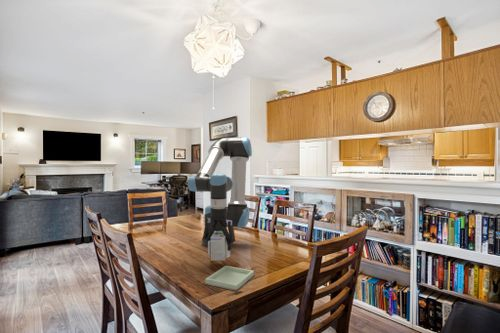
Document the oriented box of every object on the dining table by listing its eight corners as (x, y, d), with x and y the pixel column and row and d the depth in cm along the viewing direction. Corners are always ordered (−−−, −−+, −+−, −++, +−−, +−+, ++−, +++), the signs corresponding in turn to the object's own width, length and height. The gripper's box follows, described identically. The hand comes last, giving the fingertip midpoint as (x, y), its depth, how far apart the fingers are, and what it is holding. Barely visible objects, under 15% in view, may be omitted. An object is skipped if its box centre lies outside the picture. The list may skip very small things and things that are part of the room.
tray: (205, 283, 109) (205, 278, 109) (225, 269, 124) (225, 265, 124) (236, 290, 103) (236, 285, 103) (254, 275, 118) (254, 270, 118)
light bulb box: (213, 252, 134) (213, 230, 134) (227, 252, 134) (227, 230, 134) (210, 260, 123) (210, 237, 123) (225, 260, 124) (225, 236, 123)
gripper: (194, 207, 129) (195, 254, 130) (235, 210, 120) (235, 262, 120) (203, 204, 136) (204, 249, 136) (243, 207, 126) (243, 256, 127)
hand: (219, 255), depth 128 cm, fingers closed on light bulb box, 9 cm apart
